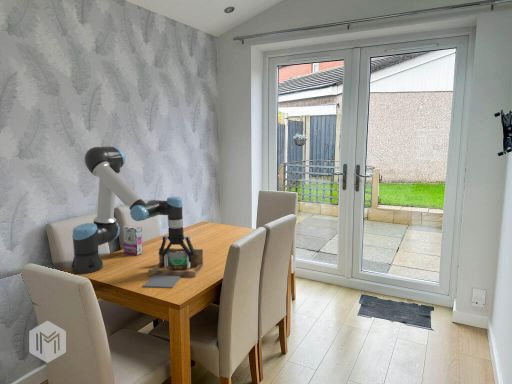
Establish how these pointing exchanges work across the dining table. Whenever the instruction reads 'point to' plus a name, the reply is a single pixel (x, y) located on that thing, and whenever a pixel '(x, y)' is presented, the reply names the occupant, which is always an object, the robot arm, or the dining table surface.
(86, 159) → the robot arm
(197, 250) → the wooden frame
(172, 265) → the food container
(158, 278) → the mat
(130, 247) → the candy bar box
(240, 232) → the dining table surface
